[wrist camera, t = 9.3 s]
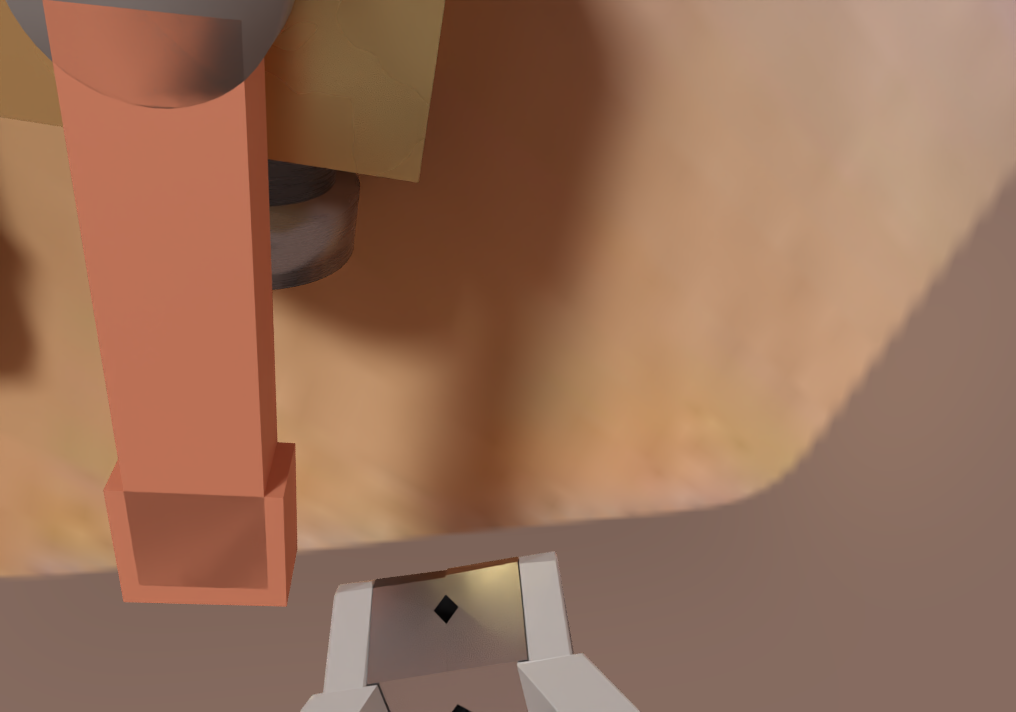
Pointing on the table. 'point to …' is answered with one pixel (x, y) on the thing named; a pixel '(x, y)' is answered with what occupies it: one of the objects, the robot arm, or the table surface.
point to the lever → (180, 284)
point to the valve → (304, 115)
